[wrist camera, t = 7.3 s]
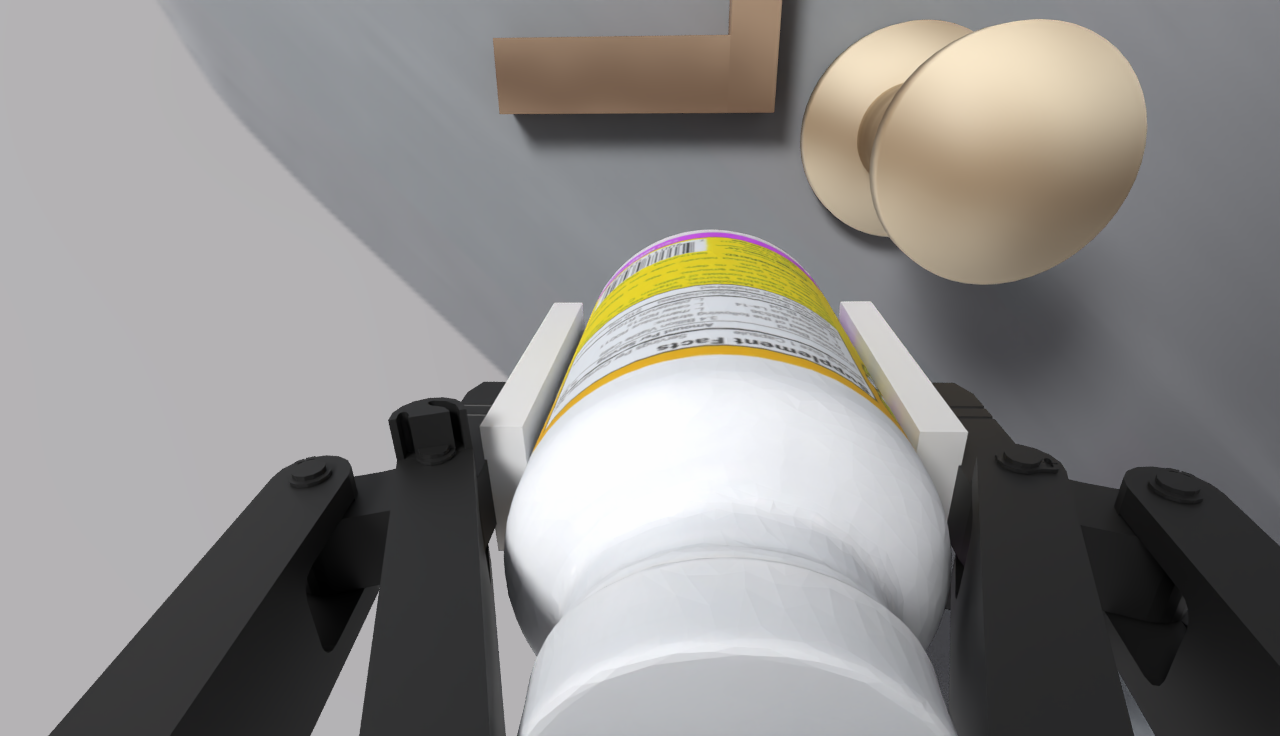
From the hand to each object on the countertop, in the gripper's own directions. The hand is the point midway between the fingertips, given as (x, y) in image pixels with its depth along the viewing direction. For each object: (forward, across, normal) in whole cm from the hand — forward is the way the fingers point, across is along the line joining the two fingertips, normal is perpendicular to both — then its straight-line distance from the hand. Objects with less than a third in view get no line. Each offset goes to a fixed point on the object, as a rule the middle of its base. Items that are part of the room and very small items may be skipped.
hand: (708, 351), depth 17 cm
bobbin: (+16, +9, +4) cm, 19 cm away
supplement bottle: (+1, 0, 0) cm, 1 cm away
